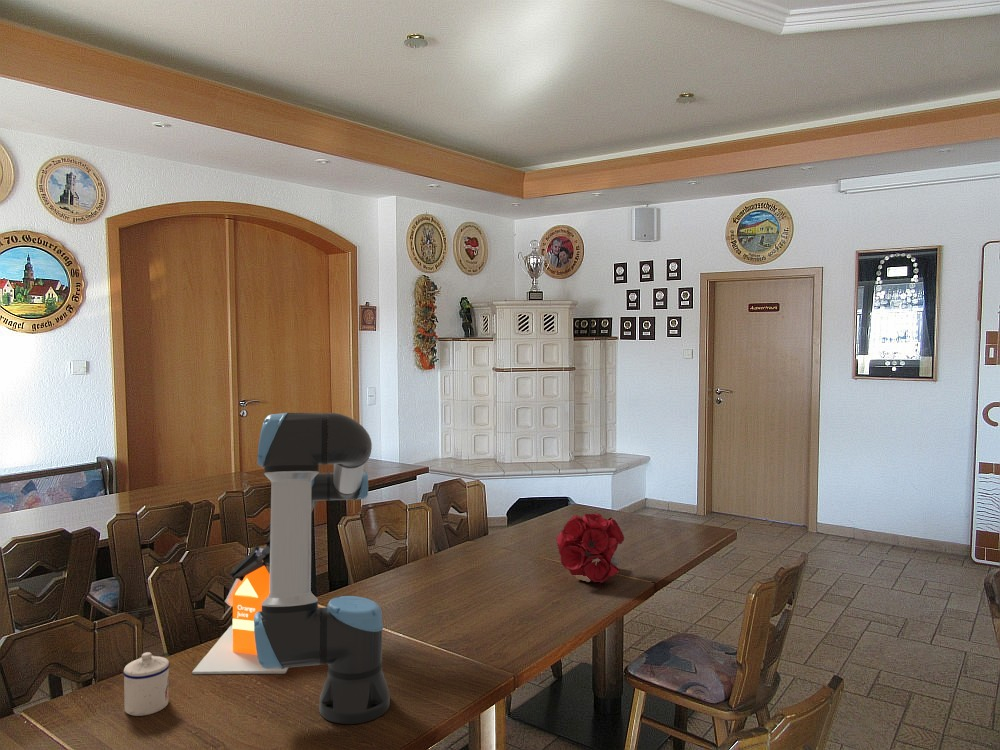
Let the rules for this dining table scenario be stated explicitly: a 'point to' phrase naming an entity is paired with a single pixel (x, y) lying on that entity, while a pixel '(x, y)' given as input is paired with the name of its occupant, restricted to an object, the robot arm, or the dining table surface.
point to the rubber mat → (231, 660)
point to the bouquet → (590, 546)
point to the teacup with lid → (146, 685)
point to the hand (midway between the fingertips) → (250, 607)
